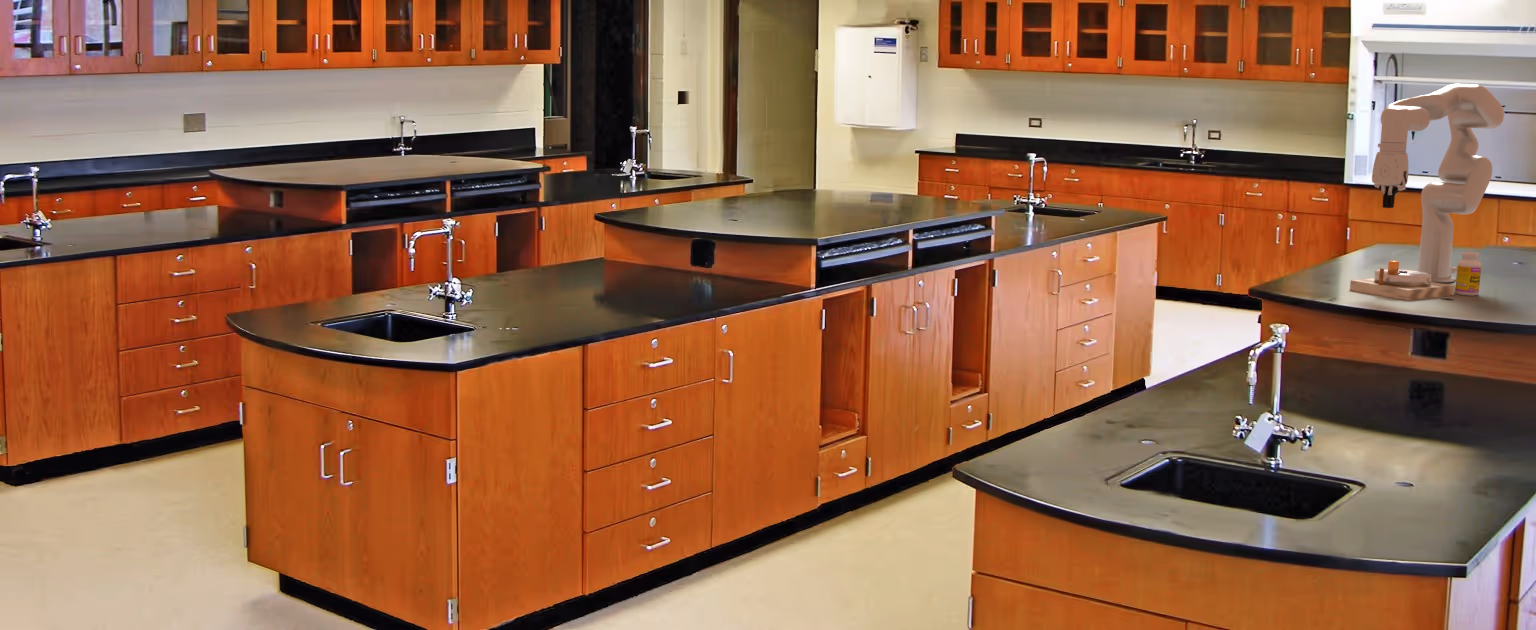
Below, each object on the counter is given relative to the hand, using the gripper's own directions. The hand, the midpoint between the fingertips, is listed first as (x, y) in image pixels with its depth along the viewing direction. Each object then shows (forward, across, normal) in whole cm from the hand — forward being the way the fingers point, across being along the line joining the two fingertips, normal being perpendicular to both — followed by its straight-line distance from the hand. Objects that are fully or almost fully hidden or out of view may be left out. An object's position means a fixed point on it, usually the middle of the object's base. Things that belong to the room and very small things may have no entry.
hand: (1387, 207), depth 480 cm
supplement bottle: (+25, +20, +14) cm, 35 cm away
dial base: (+25, +9, -2) cm, 27 cm away
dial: (+22, +9, -2) cm, 24 cm away
